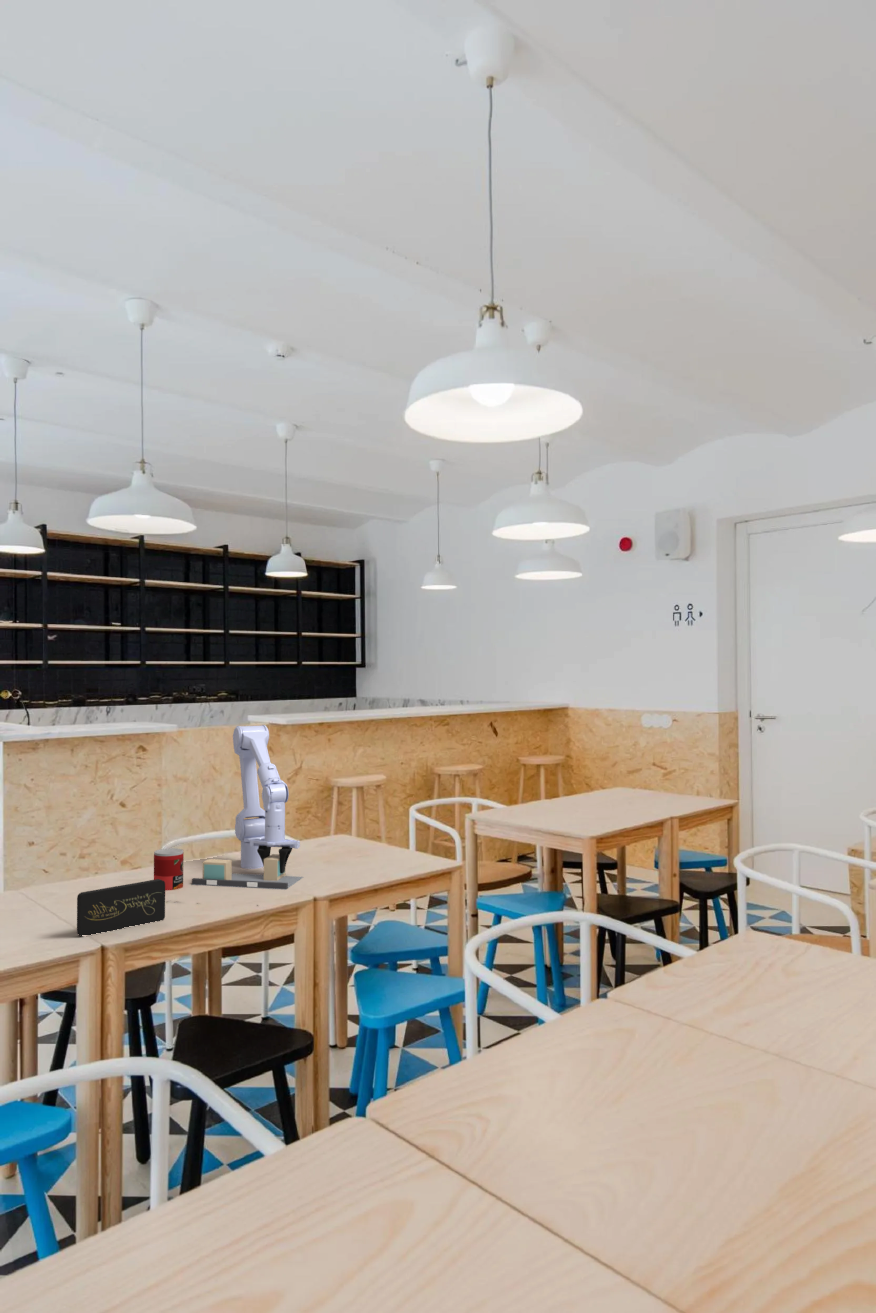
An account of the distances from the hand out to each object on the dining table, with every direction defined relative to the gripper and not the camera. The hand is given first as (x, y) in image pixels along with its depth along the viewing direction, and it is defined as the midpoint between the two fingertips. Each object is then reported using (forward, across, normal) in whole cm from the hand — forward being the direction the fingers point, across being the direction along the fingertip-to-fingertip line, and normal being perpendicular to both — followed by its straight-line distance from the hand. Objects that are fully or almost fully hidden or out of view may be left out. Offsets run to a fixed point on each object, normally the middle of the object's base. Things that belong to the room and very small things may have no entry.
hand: (274, 872), depth 259 cm
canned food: (+3, -25, -16) cm, 30 cm away
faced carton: (+2, -14, -8) cm, 16 cm away
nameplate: (+3, -19, -50) cm, 54 cm away
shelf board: (+3, -6, -5) cm, 8 cm away
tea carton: (+2, 0, 0) cm, 2 cm away
